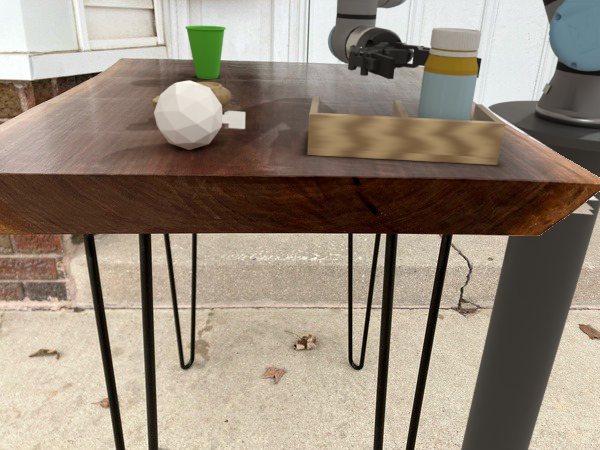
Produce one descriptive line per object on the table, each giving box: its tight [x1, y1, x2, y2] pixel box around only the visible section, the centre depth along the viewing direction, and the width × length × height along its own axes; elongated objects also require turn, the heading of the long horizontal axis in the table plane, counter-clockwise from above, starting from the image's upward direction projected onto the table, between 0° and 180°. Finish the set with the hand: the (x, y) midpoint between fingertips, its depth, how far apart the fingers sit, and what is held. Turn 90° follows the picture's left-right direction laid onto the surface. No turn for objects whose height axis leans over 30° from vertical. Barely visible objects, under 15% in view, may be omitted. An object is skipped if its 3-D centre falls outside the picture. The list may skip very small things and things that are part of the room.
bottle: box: [417, 27, 482, 120], centre depth 71 cm, size 7×7×15 cm
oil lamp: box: [151, 81, 233, 110], centre depth 86 cm, size 11×14×5 cm
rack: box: [306, 95, 506, 166], centre depth 74 cm, size 25×12×6 cm, turn 86°
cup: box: [185, 25, 227, 80], centre depth 121 cm, size 9×9×11 cm
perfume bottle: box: [153, 79, 246, 151], centre depth 71 cm, size 9×9×12 cm
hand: (436, 68), depth 74 cm, fingers open, 13 cm apart
